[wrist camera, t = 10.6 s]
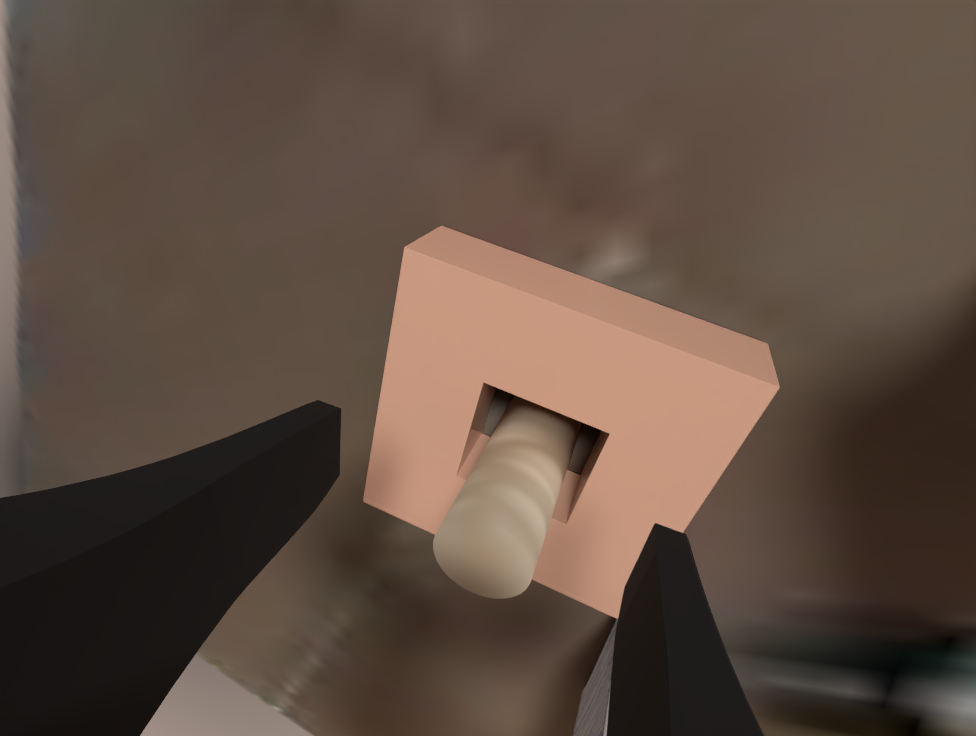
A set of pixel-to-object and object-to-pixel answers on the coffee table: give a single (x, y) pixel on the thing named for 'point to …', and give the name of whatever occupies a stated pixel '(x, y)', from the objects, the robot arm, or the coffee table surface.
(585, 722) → the medicine box
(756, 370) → the socket block
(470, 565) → the peg
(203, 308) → the coffee table surface
